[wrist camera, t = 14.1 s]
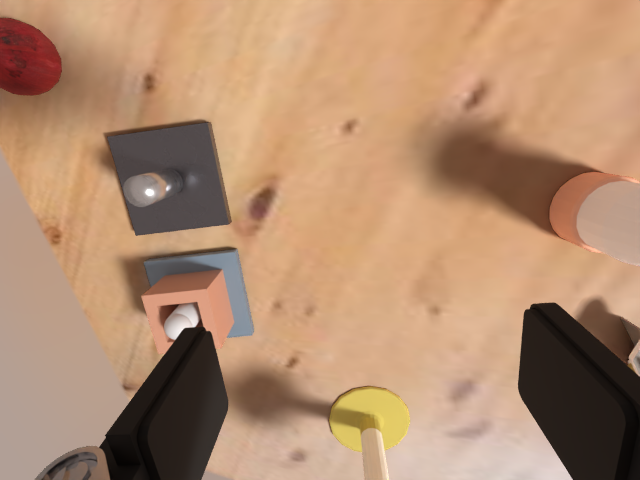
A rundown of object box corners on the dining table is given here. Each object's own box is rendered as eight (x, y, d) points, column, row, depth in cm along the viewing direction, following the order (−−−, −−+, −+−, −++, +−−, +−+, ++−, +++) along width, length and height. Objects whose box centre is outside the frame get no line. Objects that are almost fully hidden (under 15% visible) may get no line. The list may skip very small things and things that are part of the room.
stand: (113, 136, 36) (62, 138, 29) (211, 122, 35) (182, 120, 28) (140, 232, 38) (100, 254, 32) (231, 222, 38) (209, 241, 31)
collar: (164, 275, 39) (141, 296, 34) (222, 269, 38) (206, 288, 33) (179, 327, 40) (158, 354, 36) (234, 322, 40) (221, 348, 35)
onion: (60, 21, 33) (-23, -13, 25) (92, 85, 34) (24, 72, 27) (7, 45, 33) (-89, 20, 26) (41, 107, 35) (-40, 101, 27)
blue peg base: (148, 259, 39) (104, 289, 32) (237, 248, 39) (214, 277, 31) (170, 338, 42) (136, 383, 35) (254, 330, 41) (237, 374, 34)
